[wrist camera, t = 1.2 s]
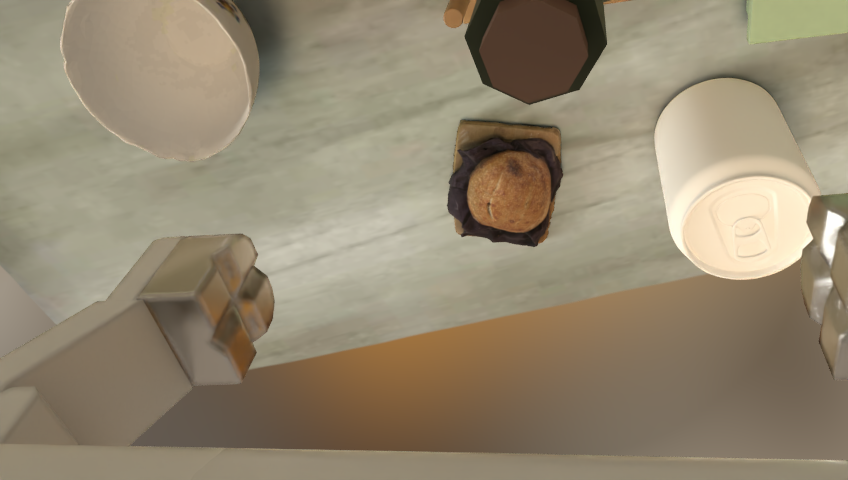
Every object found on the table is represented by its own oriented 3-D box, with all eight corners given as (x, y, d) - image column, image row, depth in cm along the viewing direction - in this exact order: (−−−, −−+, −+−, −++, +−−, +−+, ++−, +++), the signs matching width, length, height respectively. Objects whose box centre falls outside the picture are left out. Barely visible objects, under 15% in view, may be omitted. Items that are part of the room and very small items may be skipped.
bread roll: (454, 114, 51) (446, 139, 48) (570, 126, 50) (569, 152, 47) (447, 231, 57) (440, 258, 55) (550, 243, 56) (548, 272, 54)
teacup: (321, 77, 51) (286, 129, 45) (192, 130, 56) (143, 184, 49) (200, -134, 43) (137, -107, 37) (63, -51, 48) (-13, -15, 42)
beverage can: (769, 56, 45) (820, 150, 35) (786, 161, 49) (837, 270, 39) (641, 95, 48) (656, 191, 38) (667, 190, 52) (687, 297, 42)
